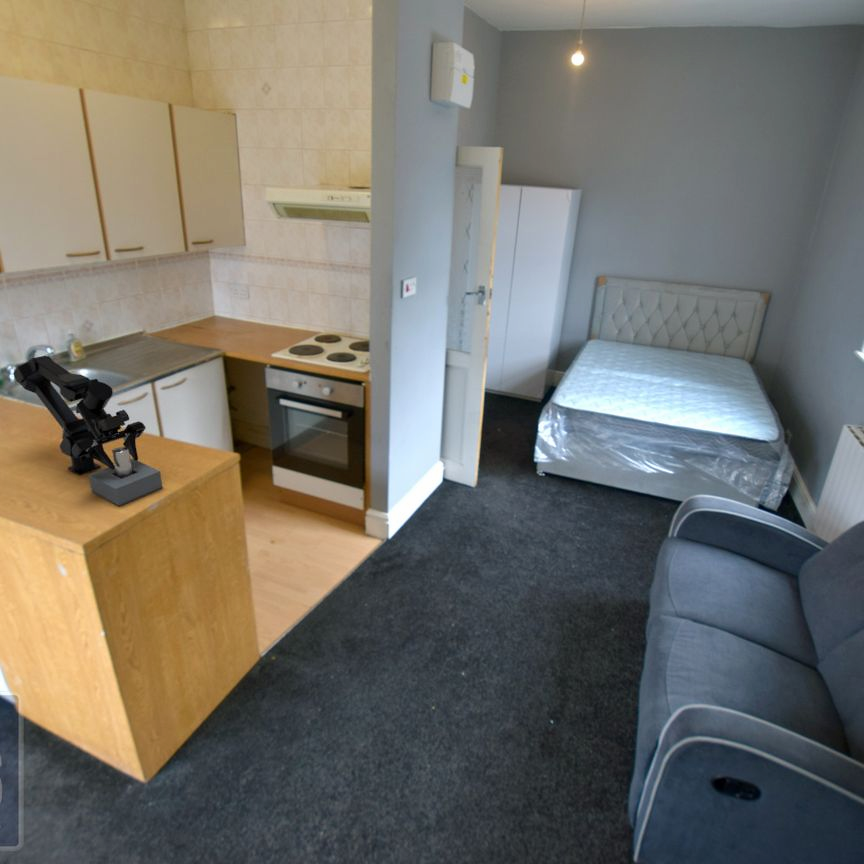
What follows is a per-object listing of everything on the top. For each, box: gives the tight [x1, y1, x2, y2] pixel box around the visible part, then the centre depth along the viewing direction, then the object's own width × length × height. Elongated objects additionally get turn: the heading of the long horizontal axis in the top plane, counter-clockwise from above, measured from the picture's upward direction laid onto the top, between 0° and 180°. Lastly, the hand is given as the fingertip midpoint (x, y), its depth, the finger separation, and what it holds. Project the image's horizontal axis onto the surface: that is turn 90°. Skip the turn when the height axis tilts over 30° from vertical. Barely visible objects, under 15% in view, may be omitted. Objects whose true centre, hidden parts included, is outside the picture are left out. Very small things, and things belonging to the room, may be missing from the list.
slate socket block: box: [88, 458, 163, 508], centre depth 162 cm, size 13×13×6 cm
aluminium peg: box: [111, 446, 133, 479], centre depth 160 cm, size 4×4×12 cm
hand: (125, 464), depth 159 cm, fingers open, 6 cm apart
